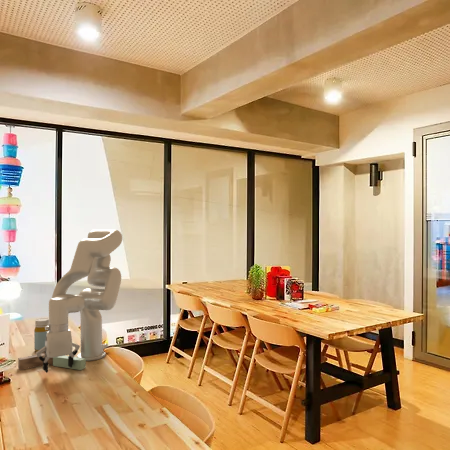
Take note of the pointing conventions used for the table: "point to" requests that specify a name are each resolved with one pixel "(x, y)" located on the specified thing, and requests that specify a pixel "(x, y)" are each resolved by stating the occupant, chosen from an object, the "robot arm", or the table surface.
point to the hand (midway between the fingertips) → (58, 369)
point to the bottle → (40, 333)
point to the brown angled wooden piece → (32, 362)
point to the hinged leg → (63, 362)
